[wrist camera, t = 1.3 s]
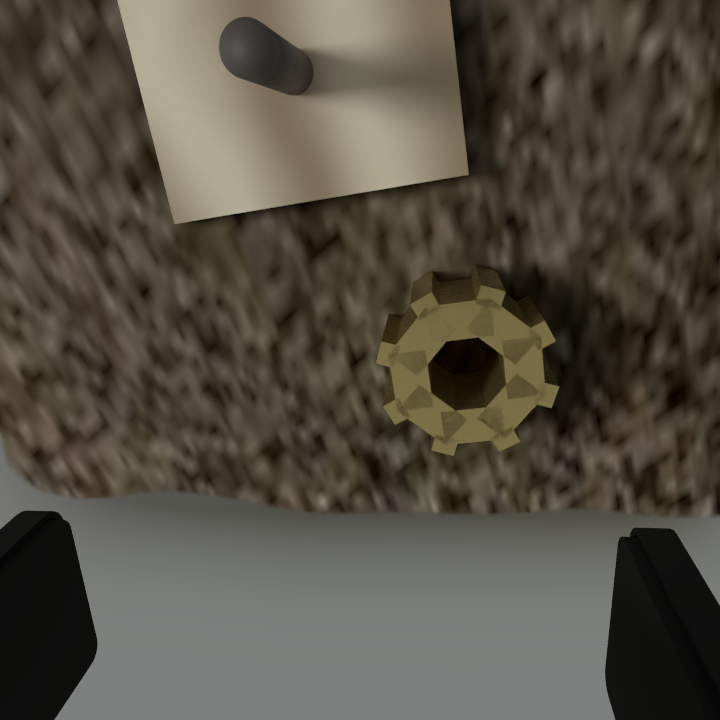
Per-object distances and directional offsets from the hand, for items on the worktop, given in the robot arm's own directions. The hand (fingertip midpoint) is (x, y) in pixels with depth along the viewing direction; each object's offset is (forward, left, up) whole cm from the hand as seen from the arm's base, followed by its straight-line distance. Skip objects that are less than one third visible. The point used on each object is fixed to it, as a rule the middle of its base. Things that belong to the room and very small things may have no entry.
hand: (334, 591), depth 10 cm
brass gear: (-3, +2, -18) cm, 18 cm away
